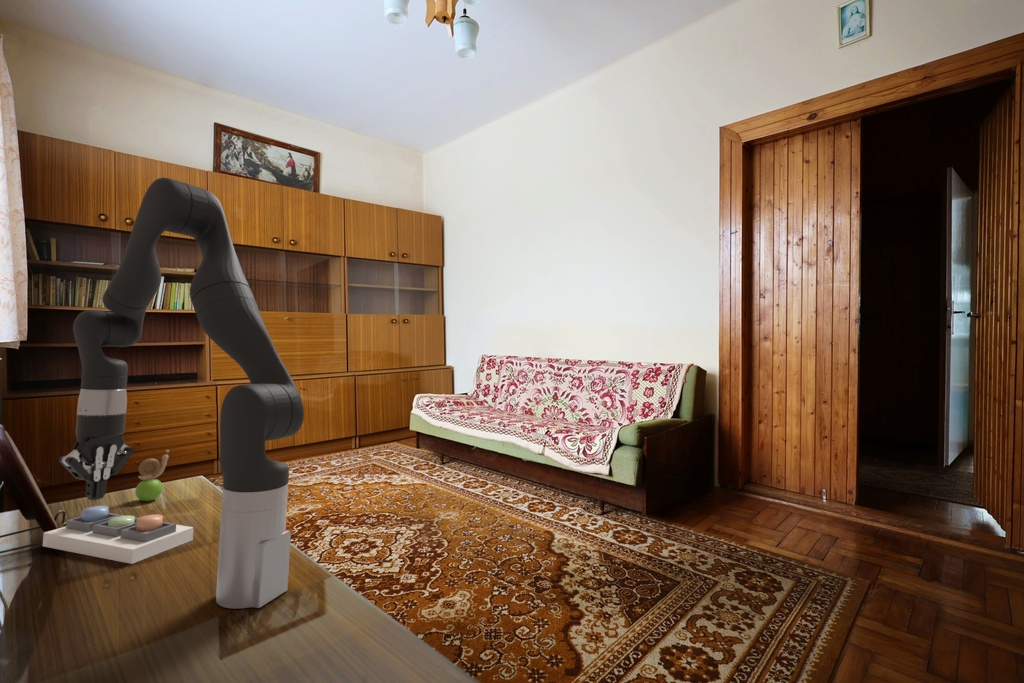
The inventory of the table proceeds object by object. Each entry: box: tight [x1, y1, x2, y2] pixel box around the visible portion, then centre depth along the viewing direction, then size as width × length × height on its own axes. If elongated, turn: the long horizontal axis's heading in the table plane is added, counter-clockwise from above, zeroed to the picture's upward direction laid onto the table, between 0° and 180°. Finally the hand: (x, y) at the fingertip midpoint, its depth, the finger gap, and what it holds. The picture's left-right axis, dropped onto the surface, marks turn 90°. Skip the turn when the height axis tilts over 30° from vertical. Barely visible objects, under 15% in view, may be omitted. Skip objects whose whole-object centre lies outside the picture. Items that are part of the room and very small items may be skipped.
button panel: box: [42, 512, 194, 565], centre depth 94 cm, size 22×12×4 cm, turn 75°
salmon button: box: [136, 514, 164, 532], centre depth 92 cm, size 4×4×2 cm
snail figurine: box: [135, 449, 170, 502], centre depth 121 cm, size 5×6×12 cm
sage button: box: [108, 515, 136, 528], centre depth 94 cm, size 4×4×2 cm
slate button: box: [80, 505, 109, 523], centre depth 96 cm, size 4×4×2 cm
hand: (95, 498), depth 96 cm, fingers closed
